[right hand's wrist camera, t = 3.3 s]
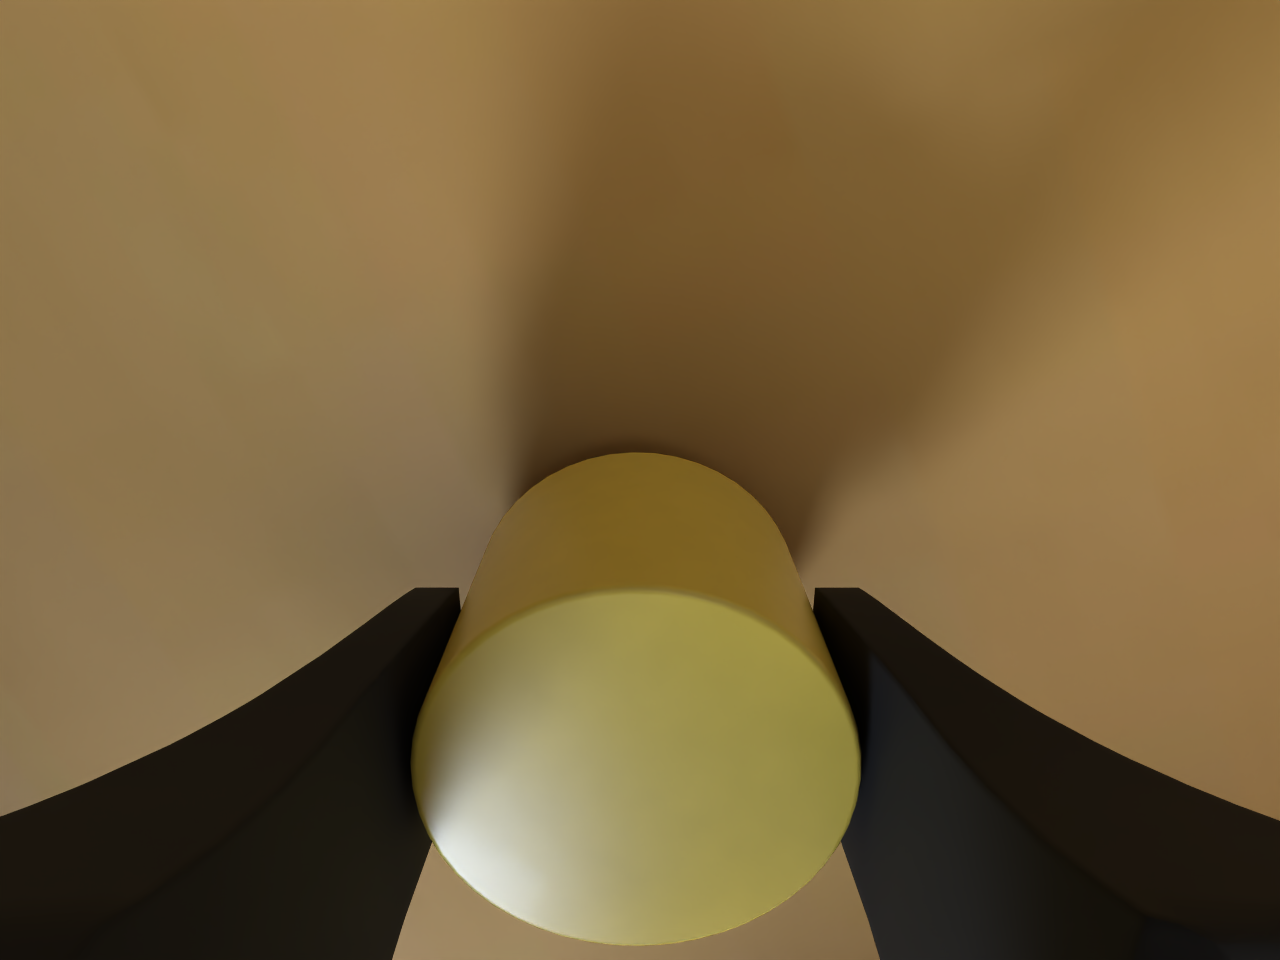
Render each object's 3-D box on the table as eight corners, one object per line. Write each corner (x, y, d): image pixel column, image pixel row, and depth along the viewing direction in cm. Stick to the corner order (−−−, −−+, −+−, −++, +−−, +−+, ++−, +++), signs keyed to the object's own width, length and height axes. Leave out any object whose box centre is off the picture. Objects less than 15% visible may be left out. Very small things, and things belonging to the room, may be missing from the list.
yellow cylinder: (836, 490, 12) (931, 642, 8) (744, 751, 14) (786, 978, 10) (509, 417, 11) (442, 539, 8) (457, 696, 13) (382, 910, 9)
